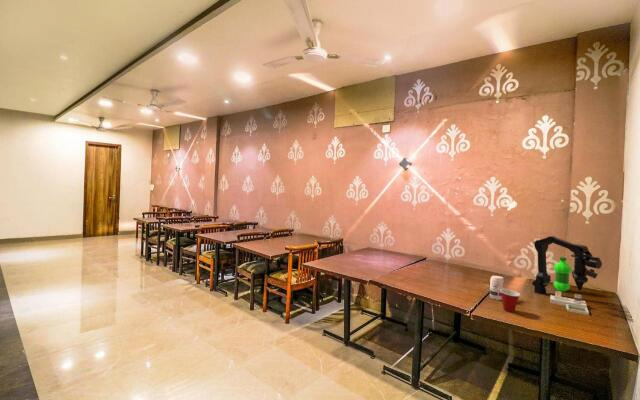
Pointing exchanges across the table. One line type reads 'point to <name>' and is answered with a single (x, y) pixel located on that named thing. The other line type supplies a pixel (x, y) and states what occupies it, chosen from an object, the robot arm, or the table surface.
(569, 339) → the table surface
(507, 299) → the plastic cup
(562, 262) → the plastic bottle
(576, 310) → the parts tray
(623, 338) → the table surface
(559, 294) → the fuse
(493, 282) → the supplement can
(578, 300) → the fuse
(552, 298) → the fuse block
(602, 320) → the table surface
